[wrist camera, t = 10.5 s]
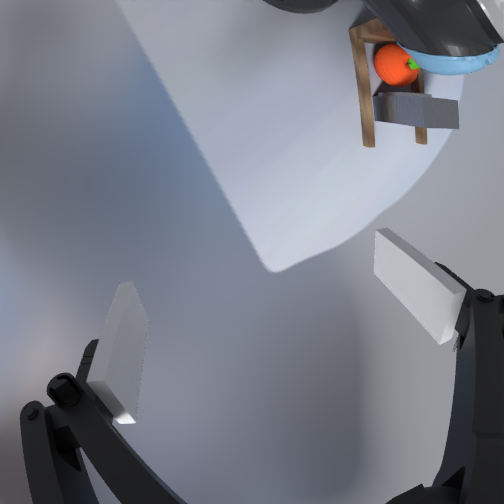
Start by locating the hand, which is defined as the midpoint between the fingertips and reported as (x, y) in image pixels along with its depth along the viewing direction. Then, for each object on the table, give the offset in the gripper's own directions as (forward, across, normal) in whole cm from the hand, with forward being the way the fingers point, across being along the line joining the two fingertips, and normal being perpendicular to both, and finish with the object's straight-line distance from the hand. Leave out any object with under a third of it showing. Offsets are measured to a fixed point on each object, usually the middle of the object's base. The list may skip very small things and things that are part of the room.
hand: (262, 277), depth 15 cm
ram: (+29, +28, +7) cm, 41 cm away
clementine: (+29, +28, +14) cm, 43 cm away
